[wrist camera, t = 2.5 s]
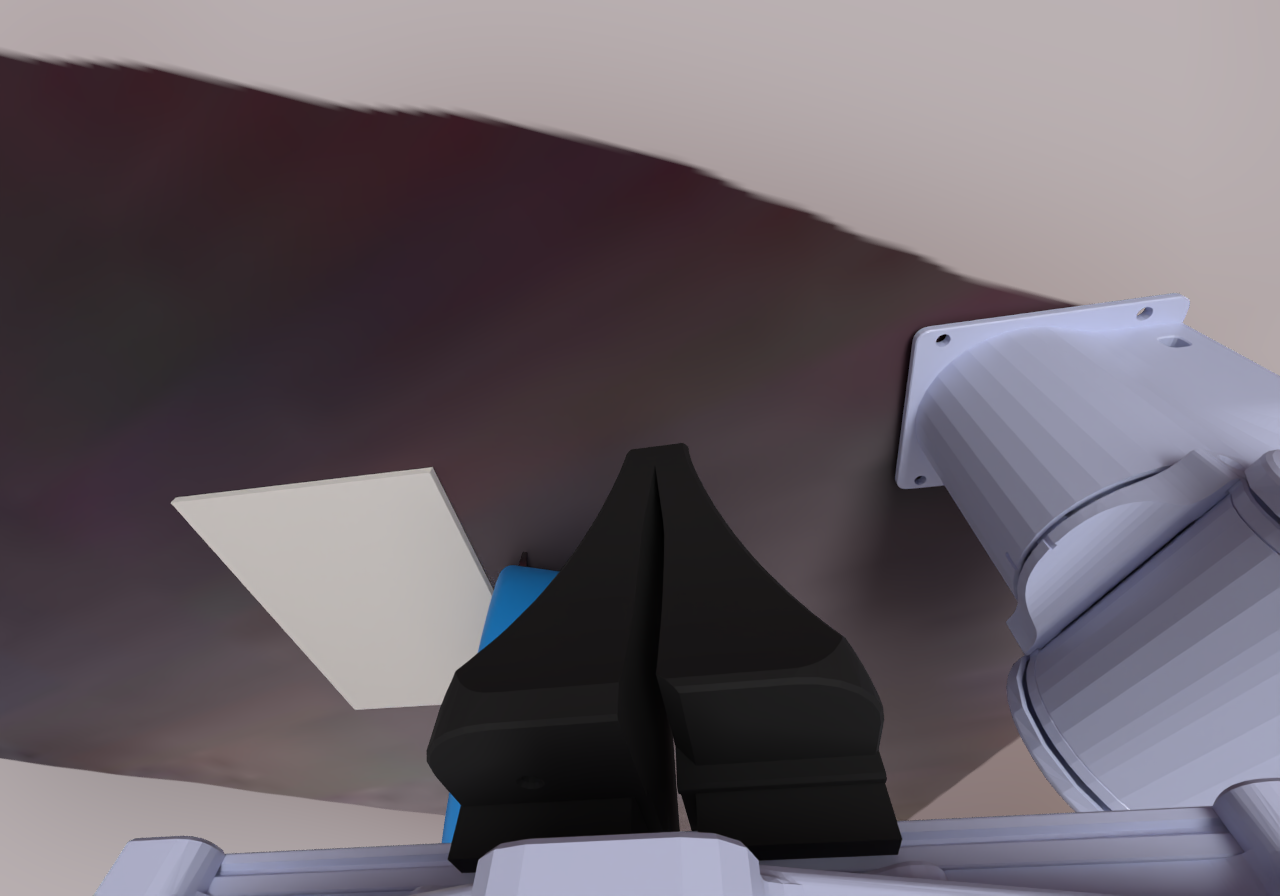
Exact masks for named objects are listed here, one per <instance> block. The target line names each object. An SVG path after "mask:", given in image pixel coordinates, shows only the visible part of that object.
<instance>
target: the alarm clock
mask: <svg viewBox="0 0 1280 896" xmlns="http://www.w3.org/2000/svg"><path fill="white" fill-rule="evenodd" d="M526 564H527V552H523V553H522V556H521V559H520V562H519V565H518V566H517V565H510V566H507V567H505V568H504V569H503V570H502V571H501V572H500V574H499V577H498V579H497V582H496V585H495V588H494V591H493V594H492V598H491V601H490V605H489V608H488V612H487V616H486V620H485V624H484V628H483V632H482V636H481V640H480V645H479V649H478V653H479V652H480V651H481V650H482V649H483V648H485V647H486V646H487V645H488V644H490V643H491V642H492V641H493V640H494V639H496V638H497V637H498V636H499V635H500V634H501V633H502V632H503V631H505V630H506V629H507V628H508V627H509V626H510V625H511V624H512V623H513V622H514V621H515V620H516V619H517V618H518V617H519V616H520V615H521V614H522V613H523V612H524V611H525V610H526V609H527V608H528V607H529V606H530V605H531V604H532V603H533V602H534V601H535V600H536V599H537V597H538V596H539V595H540V594H541V593H542V592H543V591H544V590H545V588H546V587H547V586H548V585H549V584H550V582H551V581H552V580H553V579H554V578H555V577H556V575H557V574H558V573H559V572H560V571H552V570H545V569H538V568H531V567H526ZM460 807H461V805H460V804H459V802H458V801H457V800H456V799H455V798H454V797H453V796H452V794H451V793H450V792H449V798H448V804H447V810H446V816H445V823H444V830H443V837H442V843H452V839H453V835H454V831H455V827H456V823H457V819H458V815H459V811H460Z"/></svg>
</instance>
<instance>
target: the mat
mask: <svg viewBox="0 0 1280 896" xmlns="http://www.w3.org/2000/svg"><path fill="white" fill-rule="evenodd" d="M171 504H172V505H173V506H174V507H175V508H176V509H177V510H178V511H179V513H180V514H181V515H182V516H183V517H184V518H185V519H186V520H187V522H188V523H189V524H190V525H191V526H192V527H193V528H194V529H195V531H196V532H197V533H198V534H199V535H200V536H201V537H202V538H203V540H204V541H205V542H206V543H207V544H208V545H209V546H210V547H211V549H212V550H213V551H214V552H215V553H216V554H217V555H218V556H219V558H220V559H221V560H222V561H223V562H224V563H225V564H226V565H227V567H228V568H229V569H230V570H231V571H232V572H233V573H234V574H235V576H236V577H237V578H238V579H239V580H240V581H241V582H242V583H243V585H244V586H245V587H246V588H247V589H248V590H249V591H250V592H251V594H252V595H253V596H254V597H255V598H256V599H257V600H258V601H259V602H260V604H261V605H262V606H263V607H264V608H265V609H266V610H267V611H268V613H269V614H270V615H271V616H272V617H273V618H274V619H275V620H276V622H277V623H278V624H279V625H280V626H281V627H282V628H283V629H284V631H285V632H286V633H287V634H288V635H289V636H290V637H291V638H292V640H293V641H294V642H295V643H296V644H297V645H298V646H299V647H300V649H301V650H302V651H303V652H304V653H305V654H306V655H307V656H308V658H309V659H310V660H311V661H312V662H313V663H314V664H315V665H316V667H317V668H318V669H319V670H320V671H321V672H322V673H323V674H324V676H325V677H326V678H327V679H328V680H329V681H330V682H331V683H332V684H333V686H334V687H335V688H336V689H337V690H338V691H339V692H340V693H341V695H342V696H343V697H344V698H345V699H346V700H347V701H348V702H349V704H350V705H351V706H352V707H353V708H354V709H355V710H360V709H376V708H393V707H410V706H426V705H441V704H442V702H443V699H444V696H445V694H446V692H447V689H448V687H449V685H450V683H451V681H452V678H453V676H454V673H455V671H456V670H457V669H459V668H460V667H461V666H463V665H464V664H465V663H466V662H468V661H469V660H470V659H471V658H472V657H474V656H475V655H476V654H477V653H478V649H479V645H480V640H481V636H482V632H483V628H484V624H485V620H486V616H487V612H488V608H489V605H490V601H491V598H492V594H493V591H494V590H493V588H492V586H491V584H490V582H489V580H488V578H487V576H486V574H485V572H484V570H483V568H482V566H481V564H480V562H479V560H478V558H477V556H476V554H475V552H474V550H473V548H472V546H471V544H470V542H469V540H468V538H467V536H466V534H465V532H464V530H463V528H462V526H461V524H460V521H459V519H458V517H457V515H456V513H455V511H454V509H453V507H452V505H451V503H450V501H449V499H448V497H447V495H446V493H445V491H444V489H443V487H442V485H441V483H440V481H439V479H438V477H437V475H436V473H435V471H434V469H433V467H430V468H422V469H413V470H405V471H396V472H388V473H380V474H371V475H363V476H354V477H346V478H337V479H329V480H320V481H312V482H303V483H295V484H287V485H278V486H270V487H261V488H253V489H244V490H236V491H227V492H219V493H210V494H202V495H194V496H185V497H177V498H175V499H174V500H173V501H172V502H171Z"/></svg>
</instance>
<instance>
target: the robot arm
mask: <svg viewBox="0 0 1280 896" xmlns="http://www.w3.org/2000/svg"><path fill="white" fill-rule="evenodd" d="M1189 306H1190V301H1189V299H1188V298H1187V297H1185V296H1183V295H1181V294H1178V293H1172V294H1164V295H1157V296H1149V297H1142V298H1134V299H1127V300H1120V301H1112V302H1105V303H1098V304H1090V305H1083V306H1076V307H1068V308H1061V309H1054V310H1046V311H1039V312H1032V313H1024V314H1017V315H1010V316H1002V317H995V318H988V319H980V320H973V321H965V322H958V323H951V324H943V325H936V326H929V327H925V328H922V329H921V330H919V331H918V332H917V333H916V334H915V335H914V338H913V341H912V349H911V357H910V364H909V372H908V380H907V388H906V396H905V403H904V411H903V419H902V427H901V434H900V442H899V450H898V458H897V466H896V473H895V481H896V483H897V485H898V486H899V487H900V488H902V489H913V488H923V487H933V486H943V485H944V486H945V487H946V489H947V490H948V492H949V494H950V495H951V497H952V498H953V500H954V501H955V503H956V505H957V506H958V508H959V509H960V511H961V513H962V514H963V516H964V517H965V519H966V520H967V522H968V524H969V525H970V527H971V528H972V530H973V532H974V533H975V535H976V536H977V538H978V540H979V541H980V543H981V544H982V546H983V547H984V549H985V551H986V552H987V554H988V555H989V557H990V559H991V560H992V562H993V563H994V565H995V566H996V568H997V570H998V571H999V573H1000V574H1001V576H1002V578H1003V579H1004V581H1005V582H1006V584H1007V585H1008V587H1009V589H1010V590H1011V592H1012V593H1013V595H1014V597H1015V598H1016V600H1017V601H1018V605H1017V608H1016V610H1015V612H1014V613H1013V615H1012V616H1011V617H1010V618H1009V619H1008V620H1007V622H1006V624H1007V625H1008V627H1009V629H1010V631H1011V632H1012V634H1013V636H1014V637H1015V639H1016V641H1017V642H1018V644H1019V646H1020V648H1021V649H1022V651H1023V653H1024V654H1025V655H1024V656H1023V657H1021V658H1020V659H1019V660H1018V661H1017V662H1016V663H1015V664H1013V666H1012V668H1011V671H1010V673H1009V675H1008V679H1007V686H1006V687H1007V698H1008V703H1009V707H1010V711H1011V714H1012V718H1013V720H1014V722H1015V725H1016V727H1017V730H1018V732H1019V734H1020V736H1021V738H1022V740H1023V742H1024V743H1025V745H1026V747H1027V749H1028V751H1029V752H1030V754H1031V756H1032V758H1033V760H1034V761H1035V763H1036V764H1037V766H1038V767H1039V769H1040V770H1041V772H1042V773H1043V775H1044V776H1045V778H1046V779H1047V780H1048V781H1049V782H1050V784H1051V785H1052V787H1053V788H1054V789H1055V790H1056V791H1057V793H1058V794H1059V795H1060V796H1061V797H1062V798H1063V800H1064V801H1065V802H1066V803H1067V804H1068V805H1069V806H1070V807H1071V808H1072V809H1073V810H1074V811H1075V813H1055V814H1035V815H1014V816H993V817H974V818H973V817H972V818H952V819H931V820H912V821H897V820H896V817H895V814H894V811H893V807H892V804H891V801H890V798H889V795H888V792H887V788H886V785H885V783H886V780H887V777H886V772H885V769H884V766H883V762H882V759H881V756H880V753H879V745H880V739H881V733H882V728H883V722H884V713H883V706H882V703H881V701H880V698H879V695H878V693H877V691H876V689H875V687H874V685H873V683H872V681H871V679H870V677H869V675H868V673H867V671H866V670H865V668H864V666H863V665H862V663H861V661H860V660H859V658H858V656H857V655H856V653H855V652H854V650H853V649H852V647H851V646H850V644H849V643H848V641H847V640H846V638H845V637H843V636H842V635H840V634H839V633H838V632H836V631H835V630H834V629H832V628H831V627H830V626H828V625H827V624H826V623H824V622H823V621H822V620H821V619H819V618H818V617H817V616H816V615H814V614H813V613H812V612H811V611H809V610H808V609H807V608H806V607H805V606H804V605H802V604H801V603H800V602H799V601H798V600H797V599H795V598H794V597H793V596H792V595H791V594H790V593H789V592H788V591H787V590H786V589H785V588H784V587H782V586H781V585H780V584H779V583H778V582H777V581H776V580H775V579H774V578H773V577H772V576H771V575H770V574H769V573H768V572H767V571H766V570H765V569H764V568H763V567H762V566H761V565H760V564H759V563H758V561H757V560H756V559H755V558H754V557H753V556H752V555H751V554H750V553H749V551H748V550H747V549H746V548H745V547H744V545H743V544H742V543H741V542H740V541H739V539H738V538H737V537H736V536H735V534H734V533H733V532H732V530H731V529H730V528H729V526H728V525H727V523H726V522H725V520H724V519H723V518H722V516H721V515H720V513H719V512H718V510H717V509H716V507H715V506H714V504H713V502H712V501H711V499H710V497H709V496H708V494H707V492H706V490H705V489H704V487H703V485H702V483H701V481H700V479H699V477H698V475H697V473H696V471H695V469H694V466H693V464H692V461H691V458H690V454H689V449H688V446H686V445H685V444H683V443H679V444H672V445H664V446H656V447H648V448H640V449H632V450H630V451H629V452H628V454H627V455H626V458H625V461H624V463H623V466H622V468H621V471H620V473H619V475H618V477H617V479H616V482H615V484H614V486H613V488H612V490H611V492H610V494H609V496H608V497H607V499H606V501H605V503H604V505H603V507H602V509H601V511H600V512H599V514H598V516H597V518H596V519H595V521H594V522H593V524H592V526H591V527H590V529H589V531H588V532H587V534H586V535H585V537H584V539H583V540H582V542H581V543H580V545H579V546H578V548H577V549H576V550H575V552H574V553H573V555H572V556H571V557H570V559H569V560H568V561H567V563H566V564H565V565H564V567H563V568H562V569H561V570H560V572H559V573H558V574H557V575H556V577H555V578H554V579H553V580H552V581H551V582H550V584H549V585H548V586H547V587H546V588H545V590H544V591H543V592H542V593H541V594H540V595H539V596H538V597H537V599H536V600H535V601H534V602H533V603H532V604H531V605H530V606H529V607H528V608H527V609H526V610H525V611H524V612H523V613H522V614H521V615H520V616H519V617H518V618H517V619H516V620H515V621H514V622H513V623H512V624H511V625H510V626H509V627H508V628H507V629H506V630H505V631H503V632H502V633H501V634H500V635H499V636H498V637H497V638H496V639H494V640H493V641H492V642H491V643H490V644H488V645H487V646H486V647H485V648H483V649H482V650H481V651H480V652H479V653H477V654H476V655H475V656H474V657H472V658H471V659H470V660H469V661H468V662H466V663H465V664H464V665H463V666H461V667H460V668H459V669H457V670H456V671H455V673H454V676H453V678H452V681H451V683H450V685H449V687H448V689H447V692H446V694H445V696H444V699H443V702H442V704H441V707H440V710H439V713H438V716H437V720H436V723H435V726H434V729H433V732H432V736H431V739H430V742H429V745H428V748H427V762H428V764H429V766H430V768H431V769H432V771H433V773H434V774H435V776H436V777H437V778H438V779H439V781H440V782H441V783H442V784H443V785H444V786H445V787H446V789H447V790H448V791H449V792H450V793H451V794H452V796H453V797H454V798H455V799H456V800H457V801H458V802H459V804H460V805H461V807H460V811H459V815H458V819H457V823H456V827H455V831H454V835H453V839H452V843H438V844H417V845H398V846H376V847H355V848H335V849H314V850H296V851H295V850H293V851H274V852H252V853H232V854H224V852H223V850H222V849H221V848H219V847H218V846H217V845H215V844H213V843H212V842H210V841H207V840H205V839H202V838H198V837H193V836H171V837H152V838H136V839H133V840H131V841H129V842H128V843H127V844H126V846H125V847H124V849H123V850H122V852H121V853H120V855H119V856H118V858H117V860H116V861H115V863H114V864H113V866H112V867H111V869H110V871H109V872H108V873H107V875H106V877H105V878H104V880H103V881H102V883H101V884H100V886H99V887H98V889H97V891H96V892H95V894H94V895H93V896H1280V376H1279V375H1277V374H1275V373H1274V372H1272V371H1270V370H1268V369H1266V368H1264V367H1263V366H1261V365H1259V364H1257V363H1255V362H1253V361H1252V360H1250V359H1248V358H1246V357H1244V356H1242V355H1241V354H1238V353H1237V352H1235V351H1233V350H1231V349H1229V348H1227V347H1226V346H1224V345H1222V344H1220V343H1218V342H1216V341H1215V340H1213V339H1211V338H1209V337H1207V336H1205V335H1203V334H1202V333H1200V332H1198V331H1196V330H1194V329H1193V328H1191V327H1189V326H1187V325H1185V324H1183V321H1184V318H1185V316H1186V314H1187V311H1188V309H1189ZM1143 308H1145V310H1144V311H1143V312H1142V313H1141V314H1140V315H1138V316H1137V314H1138V312H1139V311H1140V310H1142V309H1143ZM943 334H946V337H945V339H944V340H943V341H941V342H936V340H937V338H938V337H939V336H941V335H943ZM919 476H922V477H921V478H919V479H916V478H917V477H919ZM673 738H674V742H675V745H676V768H677V788H678V793H679V794H681V796H682V799H683V802H684V806H685V809H686V813H687V816H688V819H689V823H690V826H691V830H692V831H684V832H680V828H679V815H678V802H677V789H676V775H675V760H674V745H673Z"/></svg>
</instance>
